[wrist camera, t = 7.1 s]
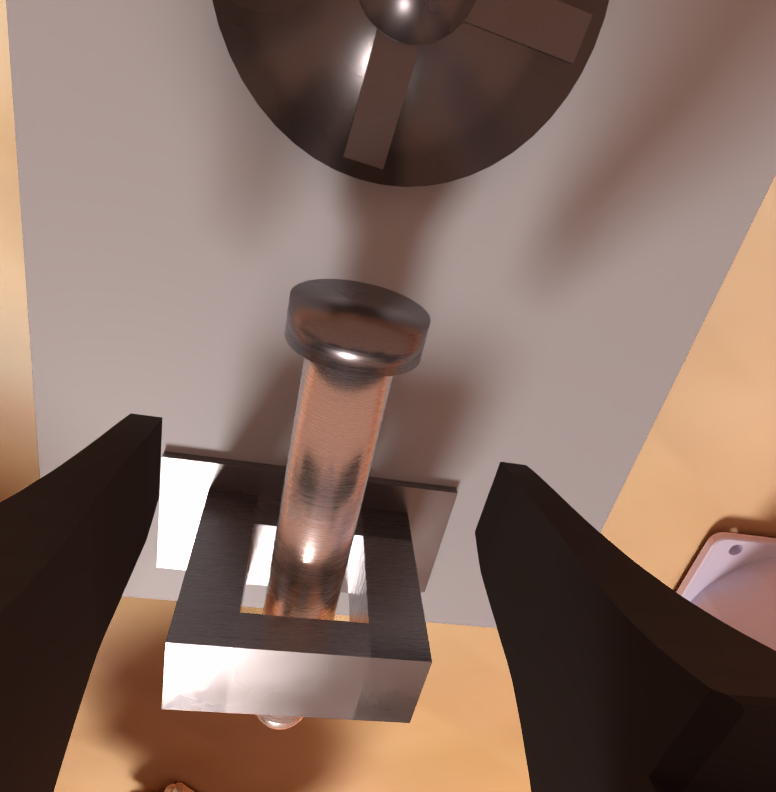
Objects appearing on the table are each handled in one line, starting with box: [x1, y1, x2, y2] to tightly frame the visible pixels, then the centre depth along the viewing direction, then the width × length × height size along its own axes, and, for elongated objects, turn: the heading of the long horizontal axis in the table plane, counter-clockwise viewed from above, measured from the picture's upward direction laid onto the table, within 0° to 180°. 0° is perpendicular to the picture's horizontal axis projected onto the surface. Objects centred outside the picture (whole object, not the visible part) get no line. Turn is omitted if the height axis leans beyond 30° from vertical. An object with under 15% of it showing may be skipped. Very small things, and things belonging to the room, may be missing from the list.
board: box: [6, 0, 776, 628], centre depth 17 cm, size 18×24×1 cm
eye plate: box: [157, 451, 458, 723], centre depth 17 cm, size 9×4×6 cm, turn 78°
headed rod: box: [256, 279, 431, 730], centre depth 16 cm, size 3×14×3 cm, turn 168°
